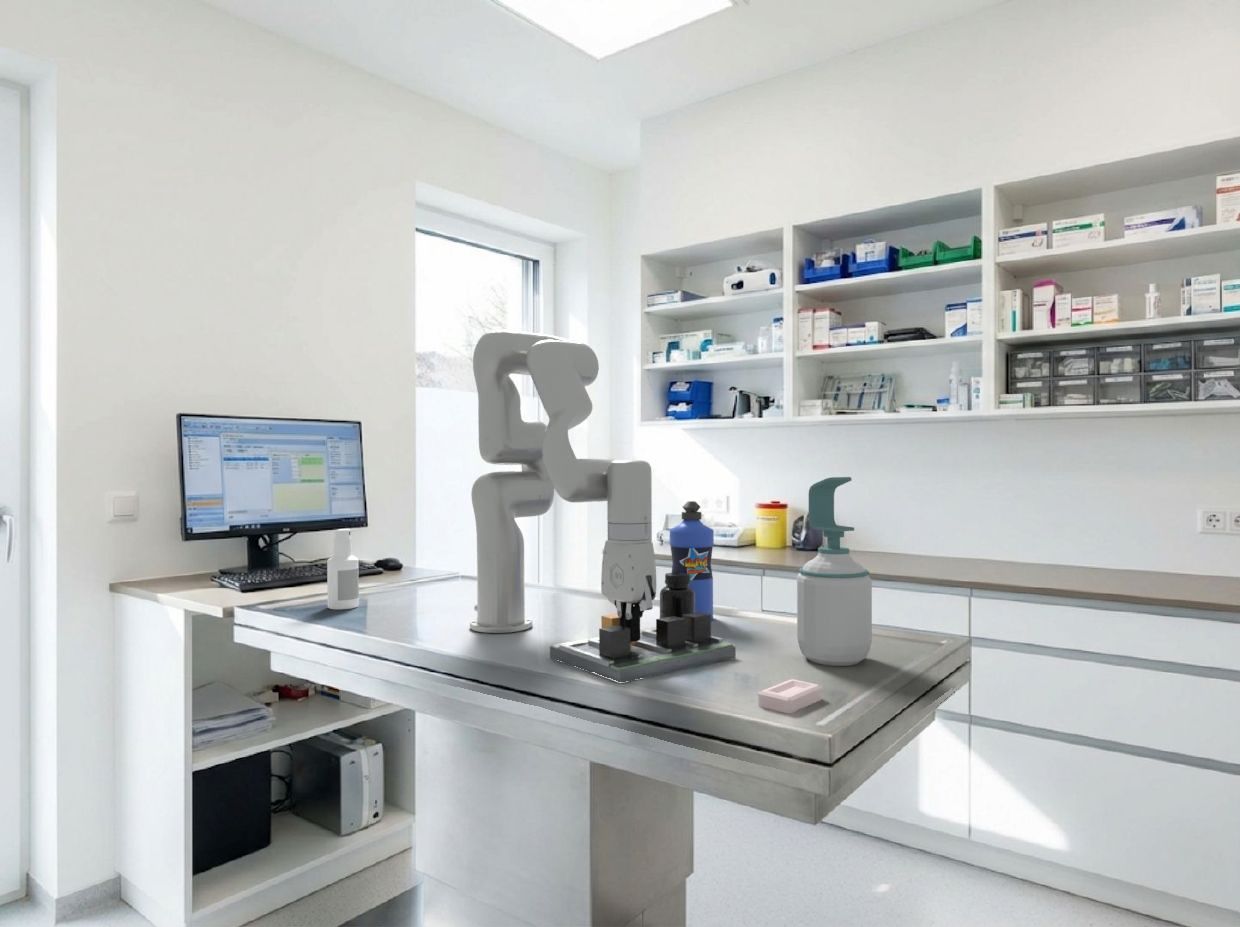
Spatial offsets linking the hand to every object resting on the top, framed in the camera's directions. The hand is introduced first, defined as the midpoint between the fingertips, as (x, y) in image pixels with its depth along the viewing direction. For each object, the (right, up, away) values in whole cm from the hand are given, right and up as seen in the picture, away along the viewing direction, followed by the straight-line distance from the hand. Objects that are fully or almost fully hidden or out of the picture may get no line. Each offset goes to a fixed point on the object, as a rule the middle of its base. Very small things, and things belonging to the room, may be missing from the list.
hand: (629, 640), depth 137 cm
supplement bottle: (+9, -3, +19) cm, 22 cm away
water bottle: (+14, -3, +35) cm, 38 cm away
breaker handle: (-2, -1, +3) cm, 4 cm away
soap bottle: (+35, -4, +1) cm, 35 cm away
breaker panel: (+2, -4, +2) cm, 5 cm away
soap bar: (+22, -4, -23) cm, 32 cm away
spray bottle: (-66, -3, +50) cm, 82 cm away
